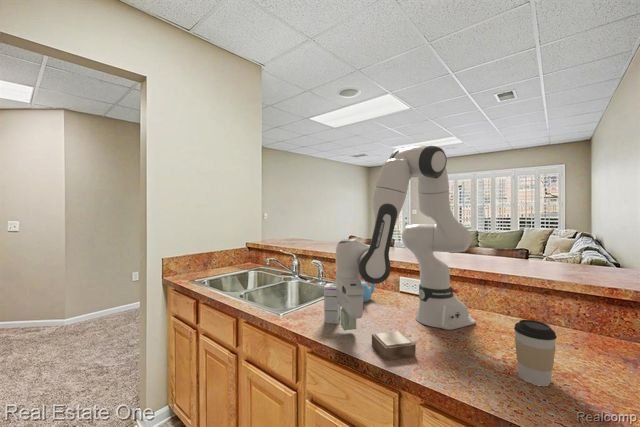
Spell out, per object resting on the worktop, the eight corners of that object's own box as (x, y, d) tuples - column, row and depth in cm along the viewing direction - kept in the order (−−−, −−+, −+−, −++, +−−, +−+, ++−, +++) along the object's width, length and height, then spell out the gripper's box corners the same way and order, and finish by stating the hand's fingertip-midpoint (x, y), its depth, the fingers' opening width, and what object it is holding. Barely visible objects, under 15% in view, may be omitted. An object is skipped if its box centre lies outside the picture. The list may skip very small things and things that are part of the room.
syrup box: (338, 324, 113) (338, 287, 112) (323, 322, 114) (323, 286, 114) (340, 318, 118) (340, 283, 118) (326, 317, 119) (326, 282, 119)
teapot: (352, 293, 153) (352, 274, 153) (379, 298, 145) (378, 278, 144) (338, 300, 141) (338, 280, 141) (365, 306, 133) (365, 284, 133)
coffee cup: (537, 369, 81) (537, 316, 81) (565, 389, 72) (566, 329, 72) (505, 369, 81) (506, 316, 80) (530, 390, 71) (531, 330, 71)
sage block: (352, 324, 107) (352, 308, 107) (356, 329, 102) (356, 312, 102) (340, 325, 106) (340, 309, 106) (344, 330, 101) (344, 313, 101)
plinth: (399, 341, 98) (399, 329, 98) (415, 356, 88) (415, 343, 88) (371, 344, 95) (371, 332, 95) (385, 360, 86) (385, 347, 86)
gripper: (332, 276, 113) (332, 311, 114) (348, 292, 93) (348, 334, 94) (347, 275, 114) (348, 310, 115) (366, 291, 94) (366, 332, 95)
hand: (348, 321), depth 104 cm, fingers closed on sage block, 4 cm apart
